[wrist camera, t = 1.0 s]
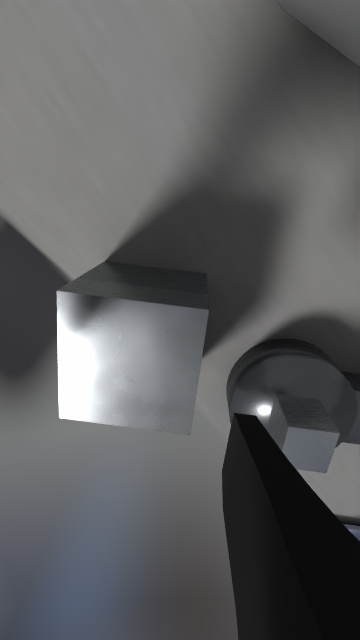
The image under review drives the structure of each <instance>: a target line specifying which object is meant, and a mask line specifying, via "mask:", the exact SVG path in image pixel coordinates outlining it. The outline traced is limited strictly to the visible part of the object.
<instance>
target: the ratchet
mask: <svg viewBox="0 0 360 640" xmlns="http://www.w3.org/2000/svg"><path fill="white" fill-rule="evenodd" d="M226 390H227V401H228V408H229V415H230V422H231V424H232V419H233V415H234V413H241V414H248V415H256V416H257V418H258V419H259V420H260V422H261V423H262V424H263V426H264V427H265V428H266V430H267V431H268V433H269V434H270V435H271V437H272V438H273V440H274V441H275V442H276V444H277V445H278V446H279V448H280V449H281V450H282V452H283V453H284V454H285V456H286V457H287V458H288V460H289V461H290V462H291V464H292V465H293V466H294V467H295V469H300V470H307V471H315V472H322V473H326V472H327V469H328V467H329V464H330V461H331V458H332V455H333V452H334V449H335V448H336V447H337V446H338V445H339V444H340V443H341V442H346V443H353V444H360V374H353V373H346V372H340V370H339V369H338V368H337V367H336V366H335V364H334V363H333V362H332V361H331V360H330V358H329V357H328V356H327V355H326V354H325V353H324V352H323V351H322V350H320V349H319V348H317V347H316V346H314V345H312V344H310V343H307V342H304V341H300V340H295V339H278V340H272V341H268V342H265V343H262V344H260V345H257V346H255V347H254V348H252V349H250V350H249V351H248V352H246V353H245V354H244V355H243V356H242V357H241V358H240V359H239V360H238V361H237V362H236V363H235V365H234V366H233V368H232V370H231V372H230V374H229V377H228V381H227V388H226Z"/></svg>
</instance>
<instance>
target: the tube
mask: <svg viewBox="0 0 360 640" xmlns="http://www.w3.org/2000/svg"><path fill="white" fill-rule="evenodd" d="M278 1H279V3H280V5H281V8H282V9H284V10H285V11H286V12H288V13H289V14H290V15H291V16H293V17H294V18H295V19H297V20H298V21H299V22H301V23H302V24H303V25H305V26H306V27H307V28H309V29H310V30H311V31H313V32H314V33H315V34H317V35H318V36H319V37H321V38H322V39H323V40H324V41H326V42H327V43H328V44H330V45H331V46H332V47H334V48H335V49H336V50H338V51H339V52H340V53H342V54H343V55H344V56H346V57H347V58H348V59H350V60H351V61H352V62H354V63H355V64H356V65H358V66H359V67H360V0H278Z"/></svg>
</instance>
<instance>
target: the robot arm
mask: <svg viewBox="0 0 360 640" xmlns="http://www.w3.org/2000/svg"><path fill="white" fill-rule="evenodd" d="M222 492H223V512H224V521H225V529H226V537H227V544H228V552H229V560H230V568H231V575H232V583H233V590H234V598H235V606H236V617H237V627H238V640H360V526H355V525H348V524H343V523H342V522H341V521H340V520H339V519H338V518H337V517H336V516H335V515H334V514H333V513H332V511H331V510H330V509H329V508H328V507H327V506H326V505H325V503H324V502H323V501H322V500H321V499H320V498H319V497H318V495H317V494H316V493H315V492H314V491H313V490H312V489H311V487H310V486H309V485H308V484H307V483H306V481H305V480H304V479H303V478H302V476H301V475H300V474H299V473H298V471H297V470H296V469H295V467H294V466H293V465H292V464H291V462H290V461H289V460H288V458H287V457H286V456H285V454H284V453H283V452H282V450H281V449H280V448H279V446H278V445H277V444H276V442H275V441H274V440H273V438H272V437H271V435H270V434H269V433H268V431H267V430H266V428H265V427H264V426H263V424H262V423H261V422H260V420H259V419H258V418H257V416H256V415H248V414H241V413H234V415H233V419H232V424H231V429H230V434H229V439H228V444H227V449H226V454H225V459H224V464H223V469H222Z"/></svg>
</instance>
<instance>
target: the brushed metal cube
mask: <svg viewBox="0 0 360 640" xmlns="http://www.w3.org/2000/svg"><path fill="white" fill-rule="evenodd" d="M208 314H209V303H208V290H207V277H206V274H200V273H192V272H184V271H176V270H168V269H160V268H152V267H144V266H135V265H127V264H119V263H111V262H103V263H101V264H99V265H98V266H96V267H95V268H93V269H91V270H90V271H88V272H87V273H85V274H83V275H82V276H80V277H78V278H77V279H75V280H74V281H72V282H70V283H69V284H67V285H66V286H64V287H62V288H61V289H59V290H57V326H58V327H57V328H58V380H59V418H64V419H71V420H79V421H87V422H94V423H102V424H109V425H117V426H124V427H132V428H140V429H148V430H155V431H163V432H170V433H177V434H186V435H190V433H191V426H192V420H193V413H194V406H195V400H196V393H197V387H198V380H199V373H200V367H201V360H202V353H203V347H204V340H205V334H206V327H207V320H208Z"/></svg>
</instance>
